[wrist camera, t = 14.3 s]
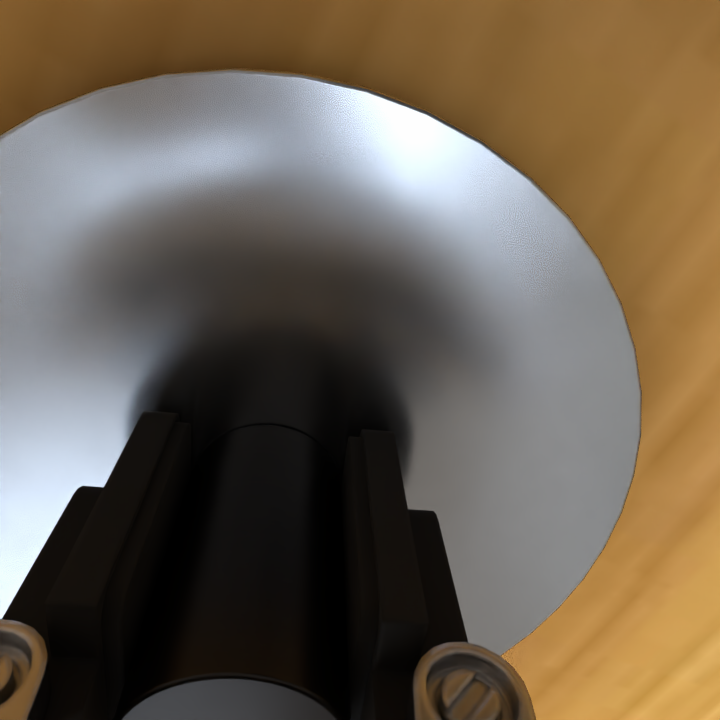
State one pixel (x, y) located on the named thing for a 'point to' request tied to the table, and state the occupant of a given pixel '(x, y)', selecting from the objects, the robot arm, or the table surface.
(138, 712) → the lid
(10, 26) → the table surface
